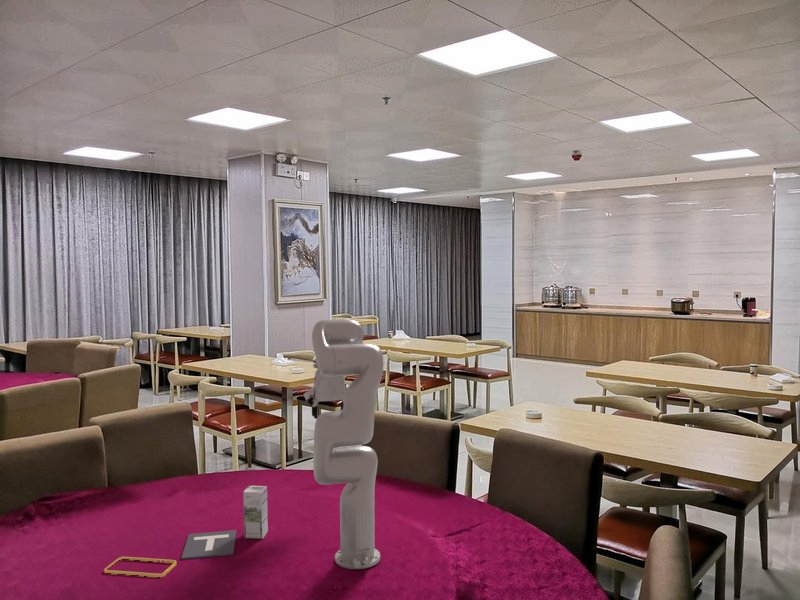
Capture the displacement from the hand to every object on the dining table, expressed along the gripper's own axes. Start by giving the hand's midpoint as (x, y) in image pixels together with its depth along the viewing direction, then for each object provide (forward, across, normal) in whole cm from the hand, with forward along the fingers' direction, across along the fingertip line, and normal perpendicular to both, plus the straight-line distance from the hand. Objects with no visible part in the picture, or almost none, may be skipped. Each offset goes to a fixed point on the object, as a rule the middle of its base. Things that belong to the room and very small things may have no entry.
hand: (329, 416), depth 214 cm
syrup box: (+31, -27, -15) cm, 44 cm away
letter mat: (+31, -41, -17) cm, 54 cm away
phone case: (+31, -59, -24) cm, 72 cm away
